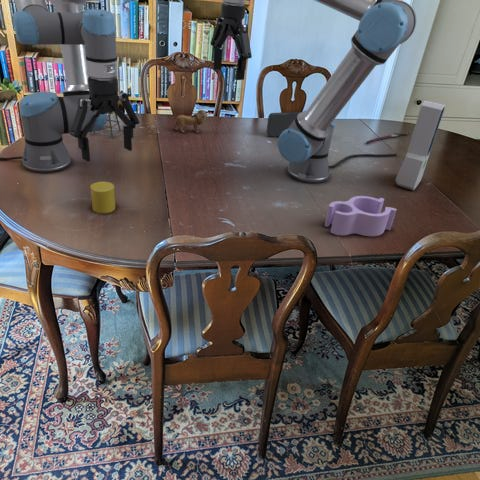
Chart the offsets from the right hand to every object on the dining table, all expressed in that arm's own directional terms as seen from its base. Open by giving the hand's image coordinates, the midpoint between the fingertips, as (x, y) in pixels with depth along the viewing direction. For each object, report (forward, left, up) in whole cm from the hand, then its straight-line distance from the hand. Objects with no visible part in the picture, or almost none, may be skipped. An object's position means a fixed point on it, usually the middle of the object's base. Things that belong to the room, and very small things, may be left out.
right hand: (228, 74), depth 156 cm
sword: (-86, +4, -32) cm, 92 cm away
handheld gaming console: (-44, -15, -32) cm, 57 cm away
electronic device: (-56, +41, -32) cm, 77 cm away
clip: (-15, +56, -32) cm, 66 cm away
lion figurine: (-4, -34, -32) cm, 47 cm away
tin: (+50, +15, -32) cm, 61 cm away
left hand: (+47, +14, -16) cm, 52 cm away
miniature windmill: (+28, -43, -32) cm, 61 cm away
